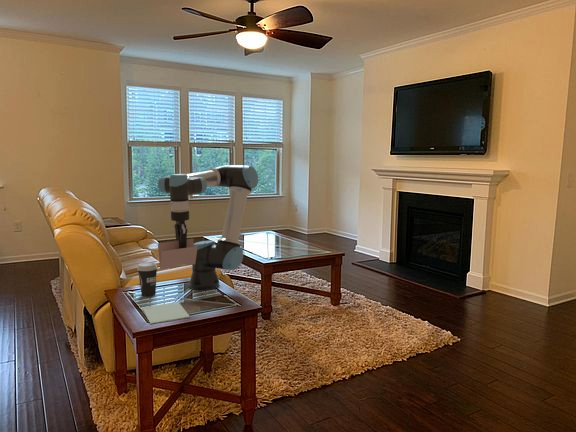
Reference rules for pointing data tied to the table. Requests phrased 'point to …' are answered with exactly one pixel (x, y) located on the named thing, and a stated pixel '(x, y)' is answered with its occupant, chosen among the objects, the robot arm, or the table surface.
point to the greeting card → (176, 254)
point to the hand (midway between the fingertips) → (182, 265)
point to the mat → (165, 312)
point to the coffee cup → (147, 278)
